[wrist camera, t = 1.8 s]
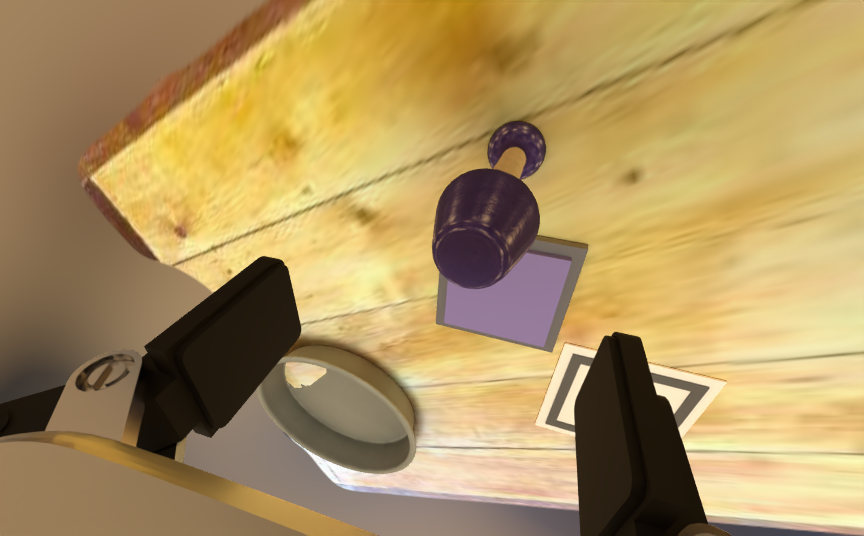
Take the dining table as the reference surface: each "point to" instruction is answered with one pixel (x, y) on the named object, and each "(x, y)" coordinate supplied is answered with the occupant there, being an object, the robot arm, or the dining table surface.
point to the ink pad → (518, 297)
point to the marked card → (676, 385)
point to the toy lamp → (490, 211)
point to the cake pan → (343, 411)
